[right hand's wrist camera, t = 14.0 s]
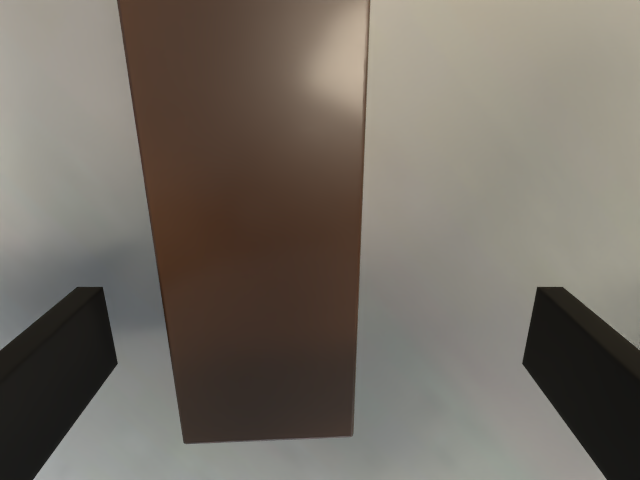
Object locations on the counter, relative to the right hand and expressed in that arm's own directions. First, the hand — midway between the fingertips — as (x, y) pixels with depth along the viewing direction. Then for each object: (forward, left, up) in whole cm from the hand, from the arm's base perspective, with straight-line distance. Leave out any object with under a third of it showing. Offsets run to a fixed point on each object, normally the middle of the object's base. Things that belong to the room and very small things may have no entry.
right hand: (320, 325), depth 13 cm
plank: (+2, -14, -6) cm, 16 cm away
